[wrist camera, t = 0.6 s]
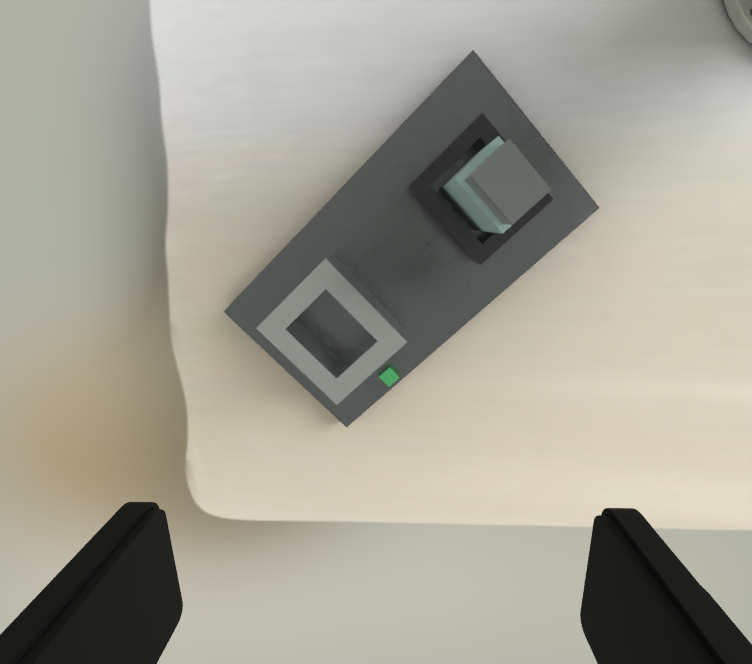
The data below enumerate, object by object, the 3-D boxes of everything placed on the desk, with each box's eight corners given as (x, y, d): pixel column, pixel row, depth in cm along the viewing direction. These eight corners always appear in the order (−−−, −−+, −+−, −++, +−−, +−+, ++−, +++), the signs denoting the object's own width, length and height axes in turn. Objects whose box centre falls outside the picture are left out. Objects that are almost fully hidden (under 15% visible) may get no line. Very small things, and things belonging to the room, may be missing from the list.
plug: (470, 158, 29) (509, 127, 19) (506, 200, 30) (561, 191, 20) (438, 189, 30) (461, 174, 20) (474, 230, 30) (513, 234, 21)
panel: (469, 58, 29) (484, 25, 24) (589, 208, 31) (626, 205, 26) (230, 307, 34) (204, 321, 29) (348, 419, 36) (341, 449, 32)
